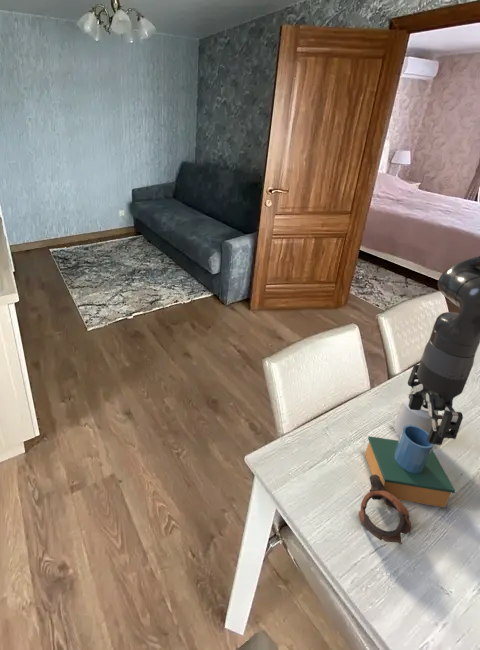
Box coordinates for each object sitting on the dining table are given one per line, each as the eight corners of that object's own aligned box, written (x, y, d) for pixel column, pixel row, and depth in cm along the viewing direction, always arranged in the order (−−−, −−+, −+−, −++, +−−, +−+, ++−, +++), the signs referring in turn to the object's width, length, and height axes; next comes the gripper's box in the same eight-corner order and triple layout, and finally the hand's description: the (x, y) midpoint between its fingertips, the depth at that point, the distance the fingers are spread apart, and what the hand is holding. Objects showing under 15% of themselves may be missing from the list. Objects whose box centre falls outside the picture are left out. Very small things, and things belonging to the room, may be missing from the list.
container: (422, 462, 84) (430, 445, 81) (447, 509, 74) (455, 490, 72) (363, 453, 86) (368, 436, 83) (379, 497, 76) (385, 479, 74)
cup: (416, 452, 80) (426, 427, 77) (428, 475, 75) (439, 450, 72) (390, 448, 81) (398, 423, 78) (400, 471, 75) (409, 445, 72)
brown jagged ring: (423, 548, 68) (420, 537, 63) (373, 553, 70) (366, 543, 66) (393, 478, 77) (388, 465, 73) (349, 485, 80) (342, 472, 75)
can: (423, 453, 86) (437, 418, 81) (389, 435, 90) (401, 401, 86) (428, 434, 91) (442, 399, 86) (396, 417, 95) (408, 384, 91)
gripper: (491, 394, 60) (462, 459, 66) (446, 343, 73) (426, 400, 79) (443, 389, 61) (419, 453, 67) (407, 339, 74) (390, 396, 80)
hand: (423, 424), depth 73 cm, fingers open, 8 cm apart
